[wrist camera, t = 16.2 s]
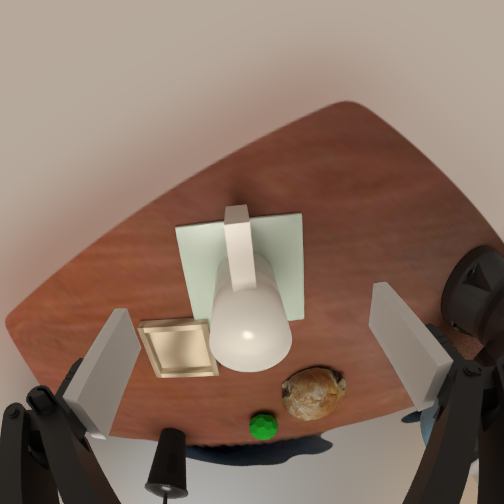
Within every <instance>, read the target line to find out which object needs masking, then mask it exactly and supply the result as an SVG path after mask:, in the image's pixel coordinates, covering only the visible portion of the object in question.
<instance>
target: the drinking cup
mask: <svg viewBox="0 0 504 504" xmlns="http://www.w3.org/2000/svg"><path fill="white" fill-rule="evenodd" d="M145 488H146V489H147V490H148V491H150V492H152V493H153V494H155V495H157V496H159V497H162V498H163V504H167V499H177V498H183V497H186V496H187V495H188V491H187V489H186V453H185V434H184V433H183V432H182V431H180V430H177V429H172V428H167V429H163V430H162V432H161V435H160V439H159V442H158V446H157V449H156V453H155V457H154V460H153V464H152V467H151V470H150V474H149V477H148V481H147V483H146V484H145Z"/></svg>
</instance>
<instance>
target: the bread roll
mask: <svg viewBox="0 0 504 504" xmlns="http://www.w3.org/2000/svg"><path fill="white" fill-rule="evenodd" d="M345 386H346V383H345V379H343V378H342V379H341V378H339V377H338V373H335V372H332V371H331V370H330V369H323V368H319V367H315V368H312V369H306V370H304V371H301V372H299V373H297V374H295V375H293V376H292V377H291V378H290V379H289V380H285V381H284V383H283V384H282V388H284V389H283V396H282V401H283V405H284V408H285V409H286V411H287V412H288V413H289V414H290V415H292V416H294V417H296V418H300V419H303V420H305V421H308V420H312V419H319V418H322V417H324V416H326V415H328V414H329V413H331V412H332V411H334V410H335V409H336V408H337V407H338V405H339V404H340V402H341V400H342V398H344V395H345V391H346V390H345V389H344V387H345Z"/></svg>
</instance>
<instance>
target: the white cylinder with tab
mask: <svg viewBox="0 0 504 504" xmlns="http://www.w3.org/2000/svg"><path fill="white" fill-rule="evenodd" d="M224 230H225V238H226V245H227V252H228V256H227V257H225V258H224V259H223V260H222V261H221V263H220V264H219V266H218V269H217V272H216V280H215V288H214V298H213V307H212V317H211V327H210V337H209V346H210V350H211V352H212V354H213V356H214V357H215V359H216V360H217V361H218V362H220V363H221V364H222V365H224V366H226V367H228V368H230V369H233V370H236V371H241V372H257V371H262V370H265V369H268V368H270V367H273V366H274V365H276V364H278V363H279V362H280V361H281V360H282V359H283V358H284V357H285V356H286V355H287V353H288V352H289V350H290V347H291V344H292V335H291V331H290V328H289V324H288V320H287V317H286V313H285V310H284V306H283V303H282V299H281V295H280V292H279V288H278V285H277V281H276V278H275V274H274V271H273V268H272V265H271V264H270V262H269V261H268V260H267V259H266V258H265V257H264V256H263V255H261V254H259V253H257V252H254V251H253V248H252V238H251V228H250V220H249V215H248V209H247V204H246V205H237V206H228V207H226V210H225V219H224Z"/></svg>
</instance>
